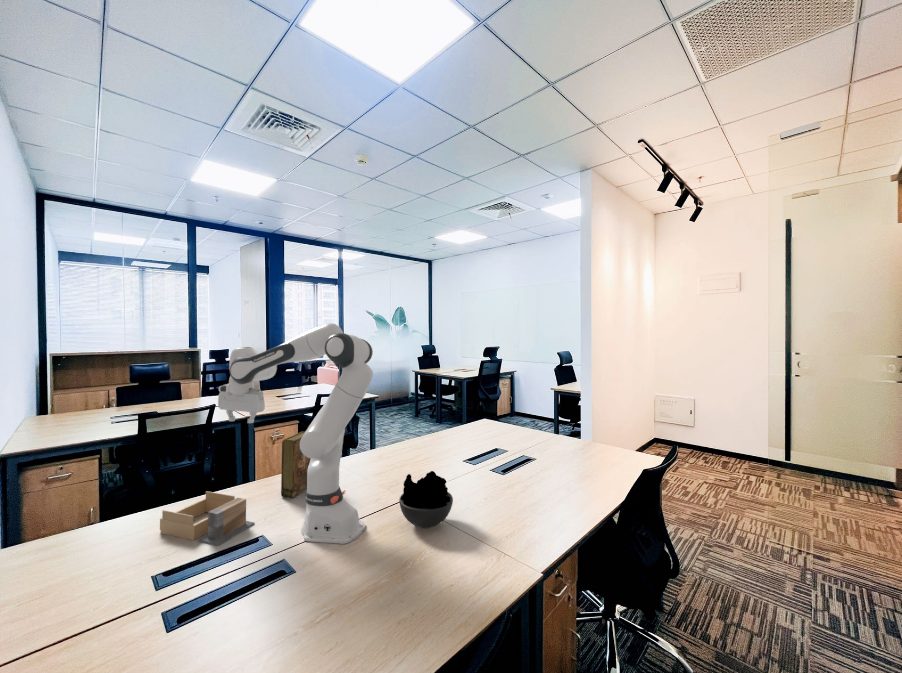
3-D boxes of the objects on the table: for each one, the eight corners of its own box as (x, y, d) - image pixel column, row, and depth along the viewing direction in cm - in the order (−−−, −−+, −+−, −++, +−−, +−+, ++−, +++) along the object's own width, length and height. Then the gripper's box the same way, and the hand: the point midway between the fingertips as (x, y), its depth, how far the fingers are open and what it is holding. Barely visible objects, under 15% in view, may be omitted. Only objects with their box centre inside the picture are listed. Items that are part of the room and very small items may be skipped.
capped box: (245, 523, 136) (246, 499, 136) (216, 540, 125) (217, 513, 125) (237, 521, 138) (237, 497, 137) (207, 538, 126) (208, 512, 126)
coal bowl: (460, 518, 144) (461, 470, 144) (437, 544, 125) (438, 489, 125) (416, 507, 152) (416, 462, 152) (388, 530, 134) (389, 479, 134)
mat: (254, 524, 137) (254, 522, 137) (218, 545, 123) (218, 544, 123) (235, 520, 140) (235, 518, 140) (197, 541, 125) (197, 539, 125)
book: (303, 483, 175) (304, 430, 175) (314, 484, 174) (314, 431, 174) (281, 498, 159) (281, 440, 159) (292, 499, 158) (293, 440, 158)
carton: (236, 517, 142) (236, 496, 142) (194, 540, 126) (194, 517, 126) (204, 510, 147) (205, 490, 147) (159, 532, 130) (160, 510, 130)
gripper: (268, 387, 148) (268, 422, 148) (228, 385, 154) (228, 418, 154) (256, 390, 142) (255, 425, 142) (215, 387, 148) (214, 421, 148)
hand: (241, 421), depth 148 cm, fingers open, 8 cm apart
